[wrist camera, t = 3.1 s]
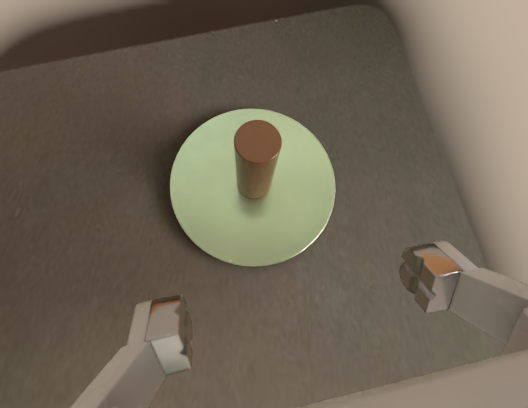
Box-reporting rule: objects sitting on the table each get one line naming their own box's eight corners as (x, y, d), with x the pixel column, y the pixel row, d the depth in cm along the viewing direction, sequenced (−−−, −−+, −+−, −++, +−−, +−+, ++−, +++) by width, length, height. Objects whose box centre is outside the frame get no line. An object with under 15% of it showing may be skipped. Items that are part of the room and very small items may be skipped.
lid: (288, 95, 25) (306, 15, 17) (359, 224, 22) (415, 196, 15) (149, 149, 23) (104, 86, 16) (211, 297, 21) (193, 304, 13)
